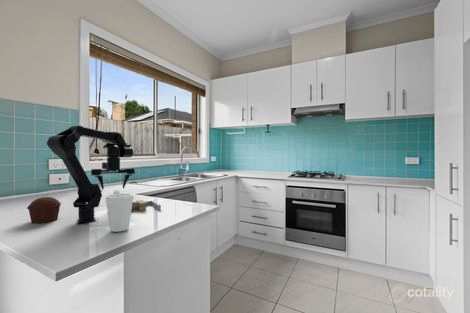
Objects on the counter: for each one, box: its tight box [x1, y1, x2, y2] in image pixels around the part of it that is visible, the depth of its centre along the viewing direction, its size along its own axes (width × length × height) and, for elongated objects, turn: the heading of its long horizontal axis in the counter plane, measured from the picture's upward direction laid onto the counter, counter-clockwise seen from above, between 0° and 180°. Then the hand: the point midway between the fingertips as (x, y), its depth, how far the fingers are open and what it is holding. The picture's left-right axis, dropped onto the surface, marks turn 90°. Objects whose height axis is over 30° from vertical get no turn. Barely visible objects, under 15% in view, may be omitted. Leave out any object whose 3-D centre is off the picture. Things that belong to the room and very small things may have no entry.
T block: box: [131, 199, 147, 212], centre depth 115 cm, size 9×9×4 cm
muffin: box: [26, 196, 62, 225], centre depth 97 cm, size 12×11×10 cm
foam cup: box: [105, 192, 134, 233], centre depth 86 cm, size 10×9×13 cm
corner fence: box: [144, 199, 162, 212], centre depth 118 cm, size 16×11×3 cm
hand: (113, 189), depth 110 cm, fingers open, 9 cm apart
